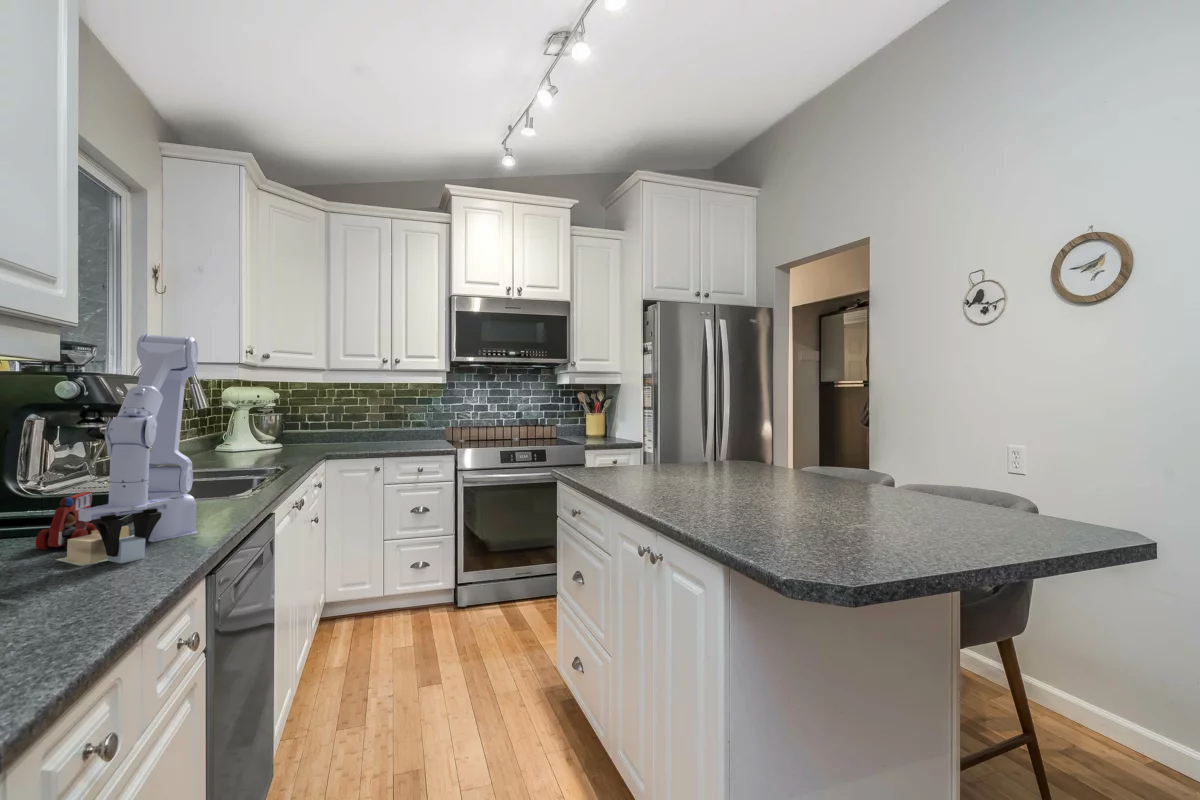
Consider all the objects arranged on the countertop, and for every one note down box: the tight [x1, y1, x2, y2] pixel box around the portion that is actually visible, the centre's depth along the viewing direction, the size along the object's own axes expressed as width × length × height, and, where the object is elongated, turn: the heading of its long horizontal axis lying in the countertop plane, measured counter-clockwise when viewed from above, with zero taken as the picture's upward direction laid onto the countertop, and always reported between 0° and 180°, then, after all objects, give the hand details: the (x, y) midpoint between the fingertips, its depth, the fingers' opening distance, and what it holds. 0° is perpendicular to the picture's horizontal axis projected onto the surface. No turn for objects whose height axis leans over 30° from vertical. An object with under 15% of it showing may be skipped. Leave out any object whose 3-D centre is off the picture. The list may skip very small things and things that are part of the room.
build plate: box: [55, 556, 107, 567], centre depth 110 cm, size 10×8×1 cm
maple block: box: [66, 533, 107, 565], centre depth 108 cm, size 5×5×4 cm
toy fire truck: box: [35, 491, 97, 551], centre depth 117 cm, size 7×12×10 cm, turn 18°
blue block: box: [106, 535, 146, 564], centre depth 109 cm, size 4×4×4 cm
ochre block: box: [91, 525, 130, 538], centre depth 115 cm, size 4×4×4 cm
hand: (126, 552), depth 109 cm, fingers closed on blue block, 4 cm apart
